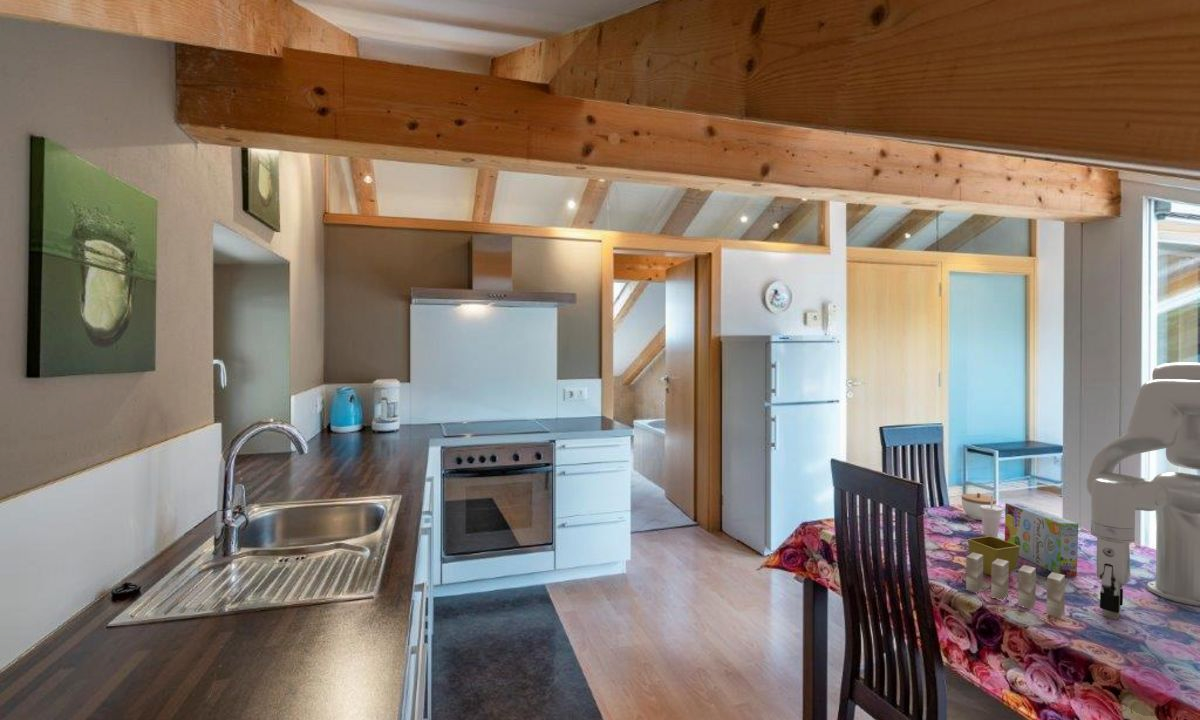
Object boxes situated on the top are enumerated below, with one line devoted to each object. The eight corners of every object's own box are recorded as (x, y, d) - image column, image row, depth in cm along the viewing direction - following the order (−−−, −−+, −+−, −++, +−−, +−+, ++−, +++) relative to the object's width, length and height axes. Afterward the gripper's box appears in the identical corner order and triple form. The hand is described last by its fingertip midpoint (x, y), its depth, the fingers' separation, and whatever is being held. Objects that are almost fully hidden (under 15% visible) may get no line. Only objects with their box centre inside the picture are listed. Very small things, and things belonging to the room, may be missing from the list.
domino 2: (1008, 595, 136) (1008, 561, 136) (1002, 601, 133) (1003, 566, 133) (997, 592, 138) (997, 558, 138) (991, 598, 135) (991, 563, 134)
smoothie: (983, 537, 178) (983, 496, 178) (976, 531, 185) (976, 491, 184) (1005, 539, 177) (1006, 498, 176) (997, 533, 183) (998, 493, 183)
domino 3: (1035, 603, 132) (1035, 567, 131) (1030, 609, 128) (1030, 573, 128) (1023, 600, 133) (1023, 565, 133) (1018, 606, 130) (1018, 570, 130)
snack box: (1079, 577, 147) (1080, 523, 147) (1059, 576, 148) (1059, 523, 147) (1020, 548, 169) (1021, 501, 168) (1002, 548, 169) (1003, 501, 169)
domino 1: (982, 588, 140) (983, 554, 140) (976, 594, 137) (977, 559, 137) (972, 585, 142) (972, 552, 142) (966, 590, 139) (966, 556, 139)
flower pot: (996, 581, 144) (996, 549, 144) (966, 569, 153) (966, 538, 152) (1020, 578, 147) (1020, 546, 146) (989, 566, 155) (990, 535, 155)
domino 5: (1119, 612, 127) (1120, 575, 127) (1116, 619, 124) (1117, 581, 124) (1106, 609, 129) (1106, 572, 129) (1102, 615, 126) (1103, 577, 126)
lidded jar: (1001, 519, 198) (1001, 494, 198) (987, 524, 193) (987, 498, 193) (970, 511, 208) (970, 488, 207) (955, 516, 202) (955, 491, 202)
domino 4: (1064, 612, 127) (1064, 575, 127) (1059, 618, 124) (1060, 580, 124) (1051, 608, 129) (1051, 572, 129) (1046, 614, 126) (1047, 577, 126)
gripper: (1129, 543, 118) (1128, 624, 118) (1139, 527, 129) (1138, 602, 129) (1084, 534, 124) (1083, 611, 124) (1097, 520, 134) (1096, 591, 135)
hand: (1111, 606), depth 126 cm, fingers closed on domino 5, 4 cm apart
